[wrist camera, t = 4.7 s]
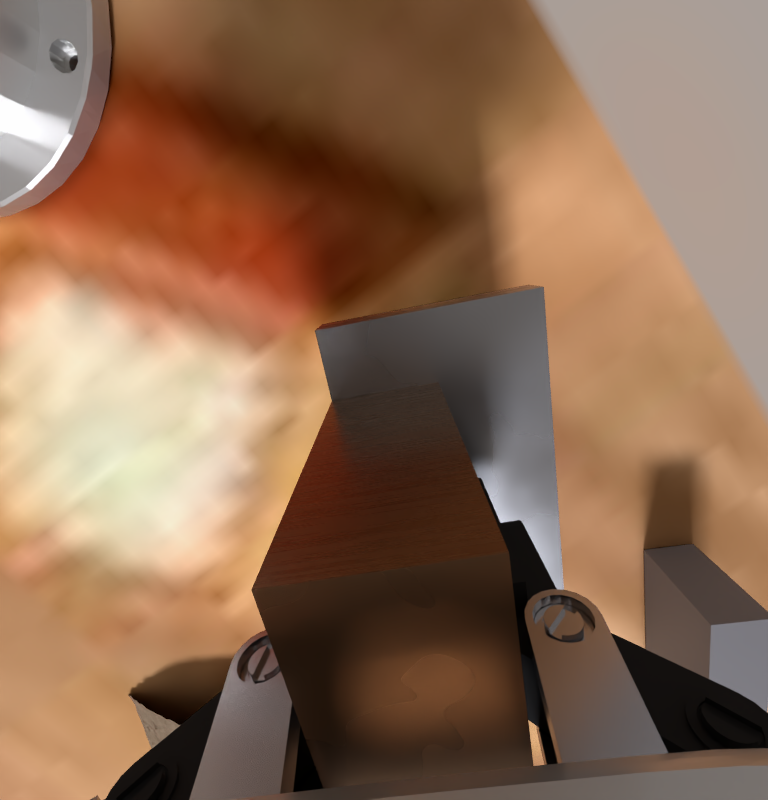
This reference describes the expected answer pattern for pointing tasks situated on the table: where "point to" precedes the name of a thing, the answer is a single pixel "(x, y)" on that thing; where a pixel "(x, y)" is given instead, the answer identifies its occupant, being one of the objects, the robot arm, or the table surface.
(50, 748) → the table surface
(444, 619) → the brown block stand
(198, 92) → the table surface
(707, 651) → the rail
